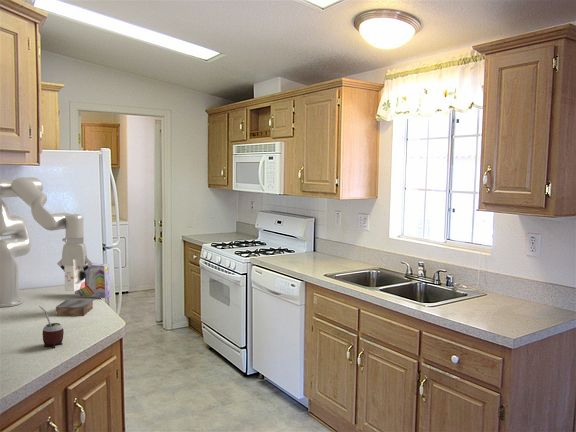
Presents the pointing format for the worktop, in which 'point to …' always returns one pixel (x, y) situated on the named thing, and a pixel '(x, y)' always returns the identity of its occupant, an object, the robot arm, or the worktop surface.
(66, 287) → the ink cartridge box
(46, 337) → the mate gourd
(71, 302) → the display podium
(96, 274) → the cake pan box
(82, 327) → the worktop surface
